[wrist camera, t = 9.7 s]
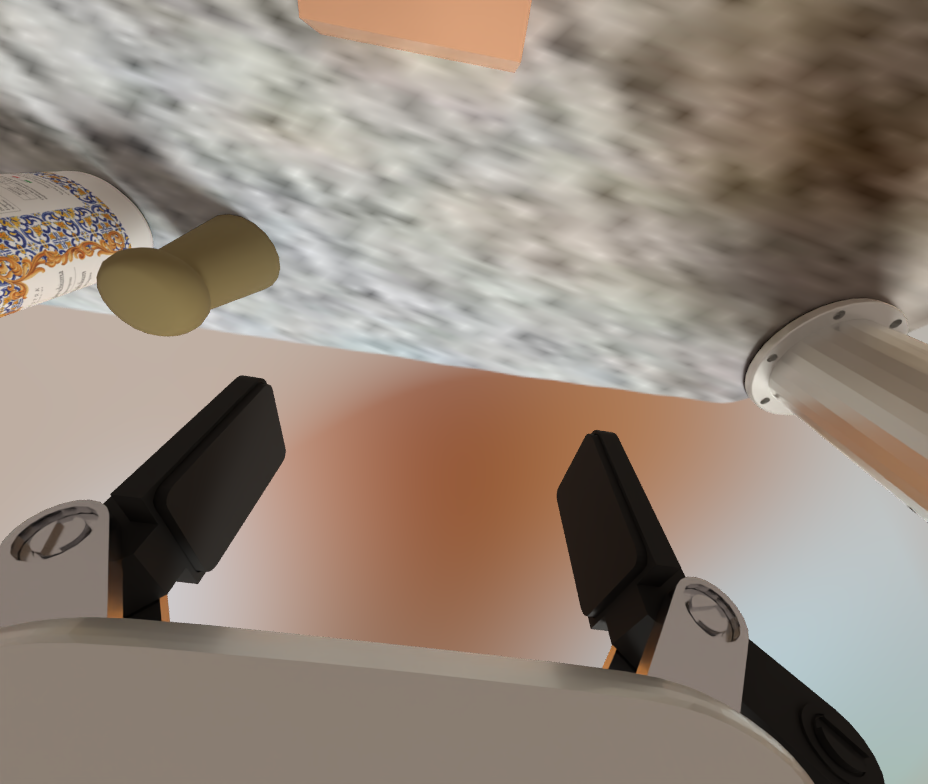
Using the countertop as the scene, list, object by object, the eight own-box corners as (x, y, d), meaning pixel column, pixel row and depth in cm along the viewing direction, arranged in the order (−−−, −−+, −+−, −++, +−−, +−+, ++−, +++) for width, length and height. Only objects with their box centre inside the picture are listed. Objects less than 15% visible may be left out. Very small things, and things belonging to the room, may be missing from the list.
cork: (268, 216, 26) (163, 251, 17) (288, 292, 29) (209, 354, 21) (189, 211, 26) (42, 244, 17) (219, 288, 29) (110, 348, 20)
